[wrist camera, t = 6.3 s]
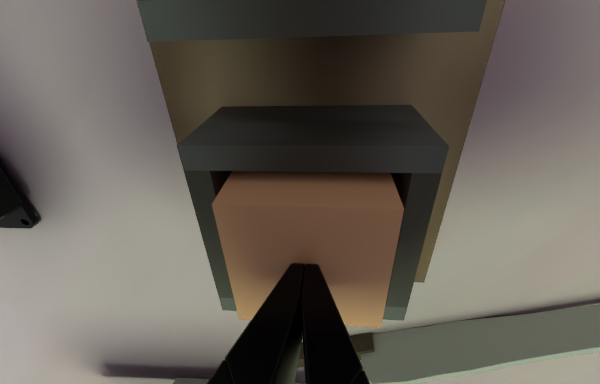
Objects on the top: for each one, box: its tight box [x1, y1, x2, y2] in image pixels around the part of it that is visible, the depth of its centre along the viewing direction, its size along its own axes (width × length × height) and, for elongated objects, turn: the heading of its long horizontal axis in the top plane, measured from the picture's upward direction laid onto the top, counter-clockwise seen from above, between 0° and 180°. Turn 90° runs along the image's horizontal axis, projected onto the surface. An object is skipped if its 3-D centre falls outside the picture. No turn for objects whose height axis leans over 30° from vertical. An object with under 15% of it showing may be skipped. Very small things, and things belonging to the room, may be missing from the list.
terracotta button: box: [212, 171, 404, 328], centre depth 10 cm, size 5×5×4 cm
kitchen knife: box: [297, 304, 600, 384], centre depth 20 cm, size 4×1×30 cm
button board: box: [137, 0, 505, 320], centre depth 10 cm, size 12×22×6 cm, turn 2°
